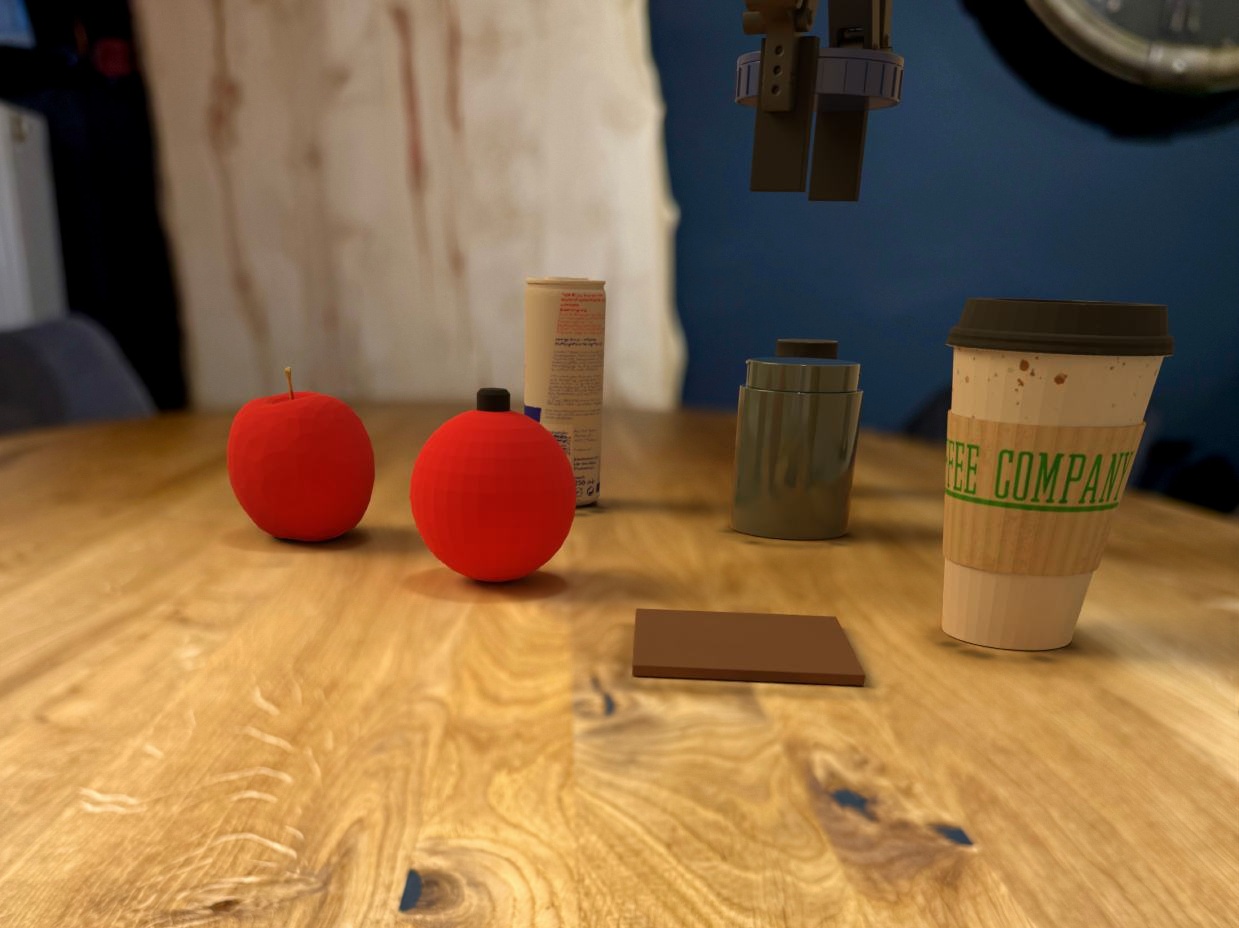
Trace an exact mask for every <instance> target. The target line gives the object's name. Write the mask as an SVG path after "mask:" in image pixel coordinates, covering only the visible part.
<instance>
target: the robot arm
mask: <svg viewBox="0 0 1239 928" xmlns="http://www.w3.org/2000/svg"><path fill="white" fill-rule="evenodd" d="M819 2H820V0H744V5H745V8H746V10H747V11H743V13H742V28H743V32H744V35H745V36H750V35H751V36H753V35H765V37H761V41H760V42H761V43H760V51H761V53H760V66H759V78H758V91H757V104H756V108H755V116H754V130H753V140H752V141H753V144H752V154H751V155H752V156H751V169H750V180H749V192H752V193H806V190H807V181H808V180H807V179H808V169H809V158H810V149H811V138H812V128H813V118H814V112H813V108H814V98H815V87H816V77H817V67H818V56H819V47H821V45H820V44H821V37H820V36H817V35H804V33H811V31H812V30H813V27H814V25H815V24H814V23H815V19H816V15H817V10H818V6H819V4H820V3H819ZM892 13H893V0H827V17H828V19H827V24H828V25H827V26H828V28H827V29H828V47H833V48H855V49H867V50H876V51H882V52H888V53H892V54H893V51H894V50H893V49H894V46H893V45H891V26H892ZM869 112H870V110H867V111H850V112H815V123H814V134H813V144H812V152H811V153H812V155H811V163H810V164H811V165H810V173H809V174H810V175H809V185H808V186H809V187H808V195H807V201H809V202H810V201H811V202H850V203H851V202H853V203H858V202H859V200H860V191H861V182H862V175H863V174H862V173H863V166H864V165H863V164H864V156H865V147H866V138H867V129H868V120H869Z"/></svg>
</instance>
